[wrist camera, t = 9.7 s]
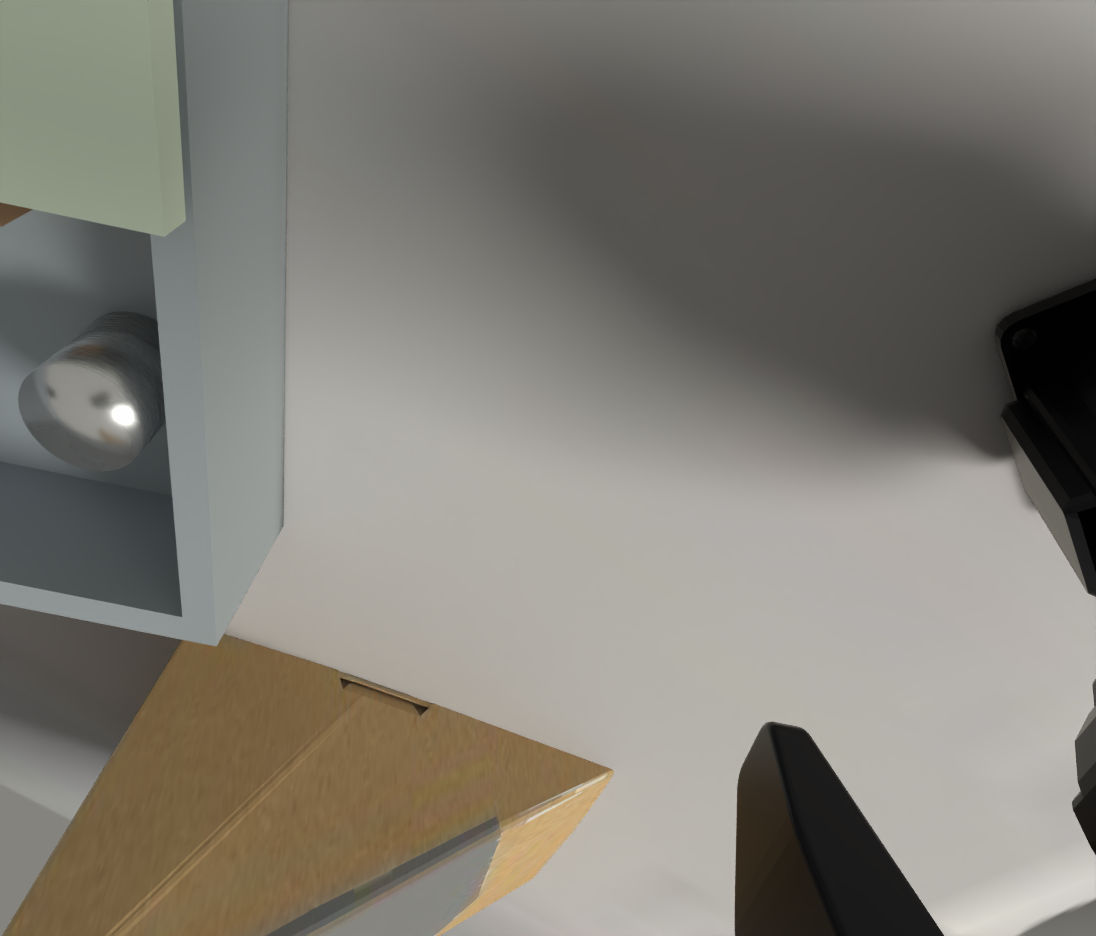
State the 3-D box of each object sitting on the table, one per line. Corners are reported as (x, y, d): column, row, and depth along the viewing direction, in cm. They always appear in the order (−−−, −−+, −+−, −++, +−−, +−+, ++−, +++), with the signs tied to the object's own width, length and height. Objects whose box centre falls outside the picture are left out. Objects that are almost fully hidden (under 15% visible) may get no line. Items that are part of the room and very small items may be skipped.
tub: (-249, -249, 16) (-543, -288, 12) (289, -130, 16) (174, -129, 12) (-60, 456, 25) (-191, 565, 21) (283, 526, 25) (216, 646, 21)
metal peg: (139, 292, 21) (76, 345, 19) (217, 384, 22) (168, 444, 20) (60, 340, 22) (-8, 396, 20) (139, 426, 23) (84, 487, 21)
